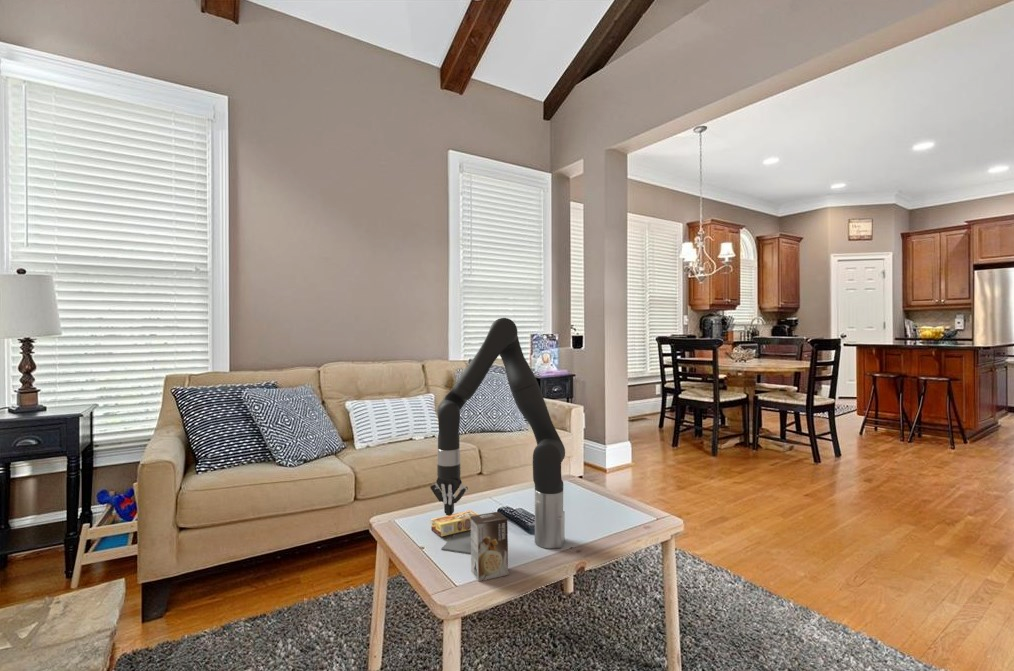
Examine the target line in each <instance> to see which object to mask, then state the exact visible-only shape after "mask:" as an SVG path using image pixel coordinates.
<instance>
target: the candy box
mask: <svg viewBox="0 0 1014 671" xmlns="http://www.w3.org/2000/svg"><path fill="white" fill-rule="evenodd" d="M475 515H480V514H479V513H477V512H475V511H473V510H471V509H470V510H466V511H461V512H457V513H452V515H451V516H448V515H443V516H438V517H433V518H431V519H430V524H431V527H430V528H431V531H432V532H434V533H435V534H436V535H439V537H446V536H449V535H455V534H456V533H459V532H463V531H471V516H475Z"/></svg>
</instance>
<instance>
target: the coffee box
mask: <svg viewBox="0 0 1014 671" xmlns="http://www.w3.org/2000/svg"><path fill="white" fill-rule="evenodd" d="M470 532H471V554H470V572H471V573H472V575H473V576H474V577H475V579H476V580H477V581H478V582H483V581H486V580H487V579H488V580H491V579H495V578H500V577H504V576H508V575H509V550H508V549H509V539H508V535H509V534H508V518H507V517H506V516H505V515H504V514H503V513H501V512H500V511H493V512H488V513H482V514H479V515H475V516H471V530H470ZM482 580H483V581H482Z"/></svg>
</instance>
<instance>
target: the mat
mask: <svg viewBox="0 0 1014 671" xmlns="http://www.w3.org/2000/svg"><path fill="white" fill-rule="evenodd" d="M440 550H441V551H446V552H452V553H453V552H454V553H461V554H467V555H471V530H467V531H463V532H459V533H454V534H453V536H451V538H449V540H448V541H447V542H446V543H445V544H444V545H443V546H442V547H441V549H440Z"/></svg>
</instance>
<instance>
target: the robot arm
mask: <svg viewBox="0 0 1014 671" xmlns="http://www.w3.org/2000/svg"><path fill="white" fill-rule="evenodd" d="M478 349H479V350H478V351H477V352H476V354H475V355H474V357H473V358H472V359H471V361H470V362H469V363H468V365H467V366H466V367H465V369H464V370H463V371H462V373H461V374H460V376H459V377H458V379H456V382H455V383H454V385H453V387H452V388H451V389H450V391H448V393H447V394H445V396H444V397H443V399H442V400H441V401H440V402H439V404H438V407H437V421H438V422H437V423H438V433H437V434H438V435H437V454H436V467H437V468H436V469H437V470H436V471H437V472H436V474H437V479H436V482H435V483H433V484H431V485H430V488H429V489H430V490H431V492H432V493H433V494H434V495H435V498H436V499H437V500H438V502H440V503H441V502H442V503H443V504H444V505H443V507H444V508H443V509H444V514H445V516H447V515H448V516H451V515H452V514H455V513H454V512H455V504H457V503H458V502H459V501H460V500H461V499H462V497H464V495H465V493H466V492H468V490H469V487H468V486H465V485H463V483H462V482H463V481H462V480H461V450H460V444H461V443H460V424H461V420H460V419H461V410H462V408H463V407H464V405H465V403H466V402H467V401H469V400H470V399H471V398H472V397H473V396H474V395H475V393H476V392H477V390H478V388H480V386H481V384H482V383H483V381H484V380H485V378H486V376H487V374H488V372H489V371H490V369H491V368H492V366H493V365H494V363H495V361H496V360H497V359H498V357H500V358H501V361H502V363H503V365H504V370H505V375H506V380H507V382H508V385H509V389H510V392H511V394H512V397H513V400H514V402H515V404H516V407H517V409H518V411H519V412H520V414H521V415H522V416H523V417H524V419H525V421H526V422H527V423H528V424H529V426H530V428H531V430H532V433H533V436H534V438H535V442H536V445H535V447H534V450H533V452H532V478H533V480H532V481H533V483H534V543H535V545H537V546H538V547H540V548H543V549H557V548H558V549H562V547H563V544H564V542H565V540H566V539H565V538H566V537H565V532H566V531H565V529H566V528H565V523H566V522H565V521H566V520H565V519H566V516H565V511H564V481H563V480H562V462H563V461H564V460H565V456H566V448H565V445H564V443H563V441H562V439H561V437H560V436H559V433H558V431H557V429H556V428H555V425H554V423H553V421H552V419H551V415H550V413H549V410H548V409H549V408H548V406H547V403H546V401H545V399H544V396H543V393H542V390H541V388H540V384H539V382H538V380H537V378H536V376H535V374H534V372H533V369H532V368H531V366H530V365H529V363H528V361H527V359H526V358H525V356H524V353H523V350H522V347H521V343H520V340H519V334H518V327H517V325H516V323H515V322H514V320H512V319H510V318H508V317H500V318H497V319H496V320H495V321H492V323H491V325H490V327H489V331H488V333H487V334H486V336H485V338H484V341H483V343H482V344H481V346H480V348H478ZM457 491H458V492H459V493H458V494H457ZM456 494H457V495H456Z"/></svg>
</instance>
